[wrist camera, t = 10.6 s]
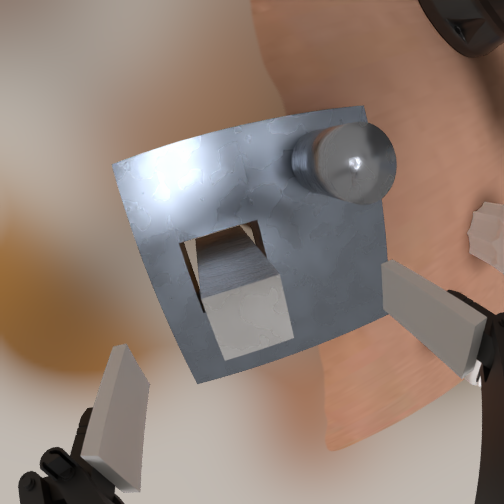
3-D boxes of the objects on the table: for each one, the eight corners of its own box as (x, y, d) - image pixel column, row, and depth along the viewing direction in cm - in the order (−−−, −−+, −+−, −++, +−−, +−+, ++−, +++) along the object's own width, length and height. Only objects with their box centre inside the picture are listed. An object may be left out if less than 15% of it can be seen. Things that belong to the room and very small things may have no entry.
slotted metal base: (123, 164, 22) (82, 164, 13) (341, 111, 24) (410, 94, 15) (195, 358, 29) (202, 432, 19) (369, 297, 31) (425, 342, 22)
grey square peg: (195, 238, 25) (201, 299, 14) (239, 225, 26) (279, 274, 14) (208, 279, 27) (224, 360, 15) (250, 266, 27) (294, 337, 16)
